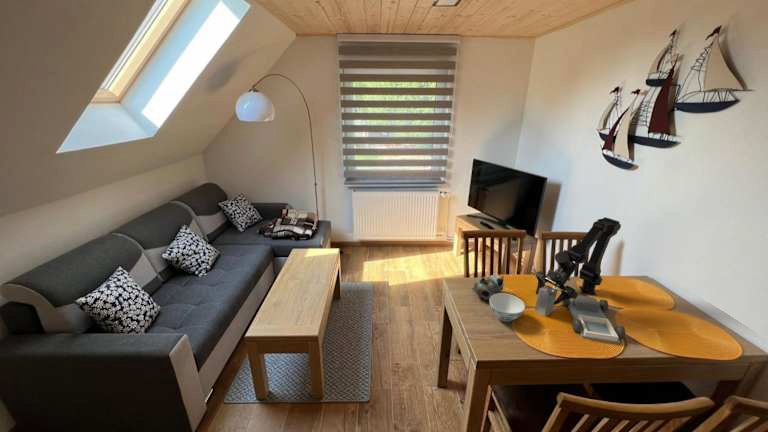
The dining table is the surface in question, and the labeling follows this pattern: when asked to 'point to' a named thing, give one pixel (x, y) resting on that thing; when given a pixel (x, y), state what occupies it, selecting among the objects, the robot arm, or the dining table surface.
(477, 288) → the grey lumpy piece
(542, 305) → the grey plastic box
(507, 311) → the chinaware
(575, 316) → the chassis
